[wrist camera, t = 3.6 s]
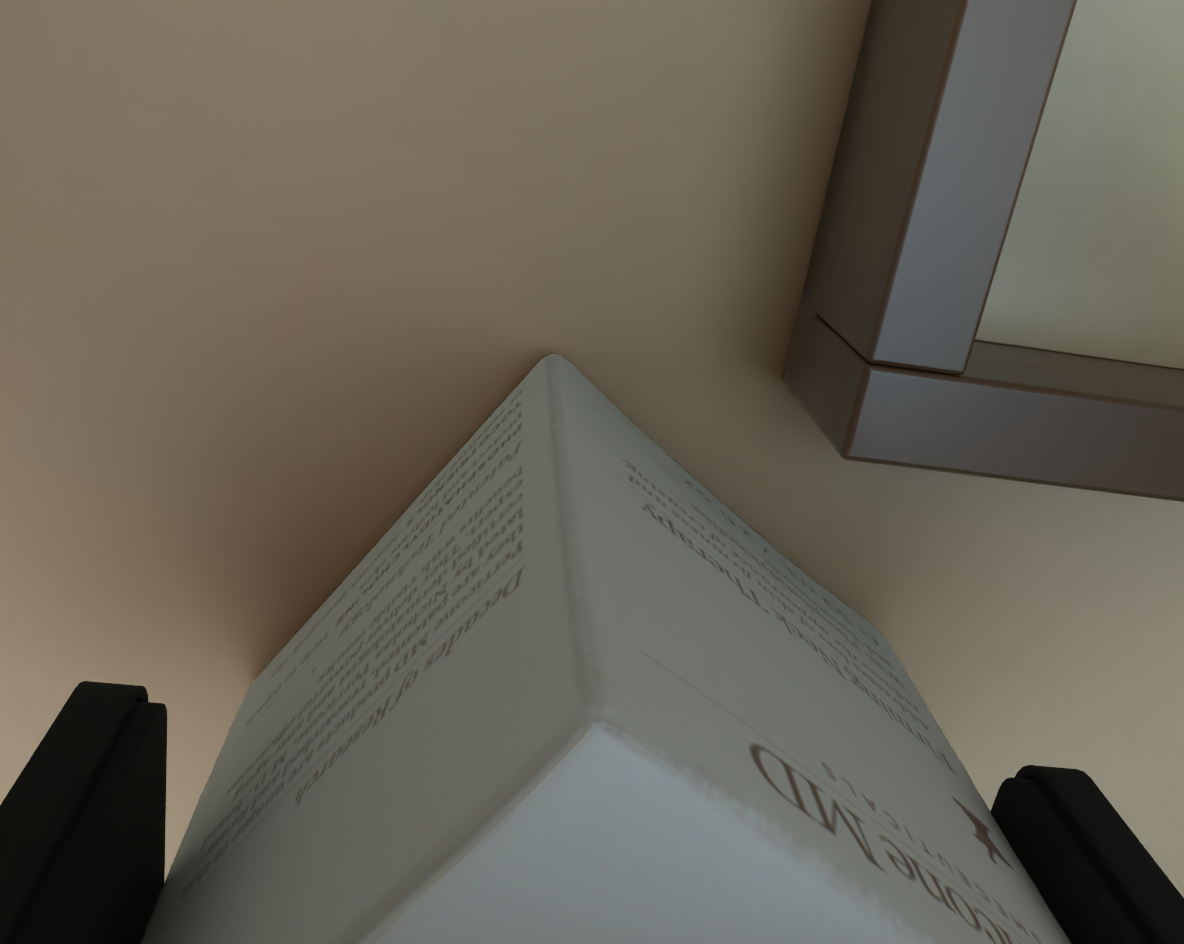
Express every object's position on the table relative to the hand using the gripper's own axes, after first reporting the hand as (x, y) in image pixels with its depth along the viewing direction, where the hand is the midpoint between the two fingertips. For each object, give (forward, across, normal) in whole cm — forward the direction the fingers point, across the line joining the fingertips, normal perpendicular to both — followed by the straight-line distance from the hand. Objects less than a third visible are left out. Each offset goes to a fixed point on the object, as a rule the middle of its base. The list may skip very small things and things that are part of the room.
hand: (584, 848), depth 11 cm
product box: (+4, 0, 0) cm, 4 cm away
